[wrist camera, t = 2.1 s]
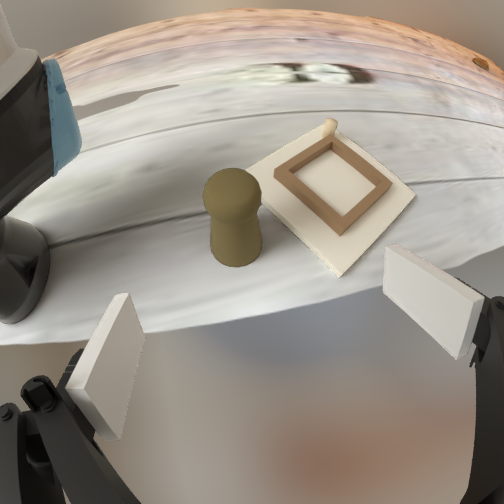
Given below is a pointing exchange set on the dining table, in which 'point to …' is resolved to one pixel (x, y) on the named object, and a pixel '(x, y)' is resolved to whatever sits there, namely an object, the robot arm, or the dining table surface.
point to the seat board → (330, 194)
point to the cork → (234, 216)
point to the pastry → (481, 63)
